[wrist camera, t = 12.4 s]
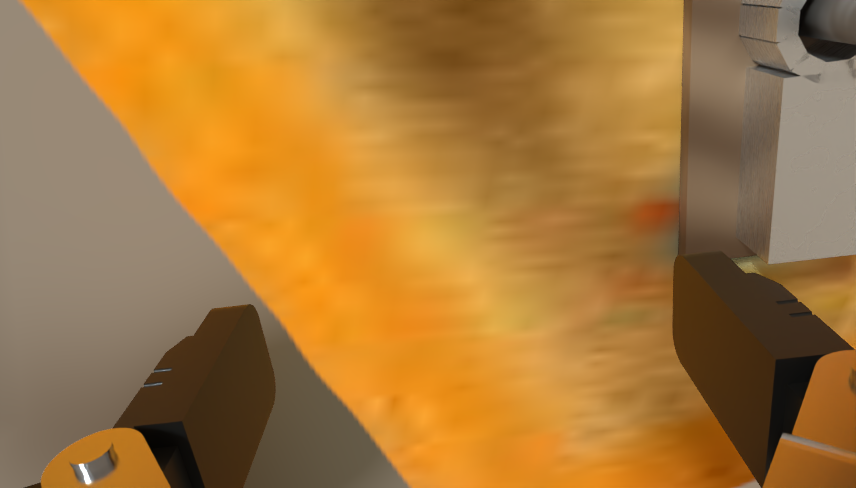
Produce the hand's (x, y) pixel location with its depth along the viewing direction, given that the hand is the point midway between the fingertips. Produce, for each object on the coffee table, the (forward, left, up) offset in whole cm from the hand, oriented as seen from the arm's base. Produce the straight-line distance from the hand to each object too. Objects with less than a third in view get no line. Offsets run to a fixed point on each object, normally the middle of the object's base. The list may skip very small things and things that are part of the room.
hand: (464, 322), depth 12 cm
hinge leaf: (+3, +19, -25) cm, 31 cm away
